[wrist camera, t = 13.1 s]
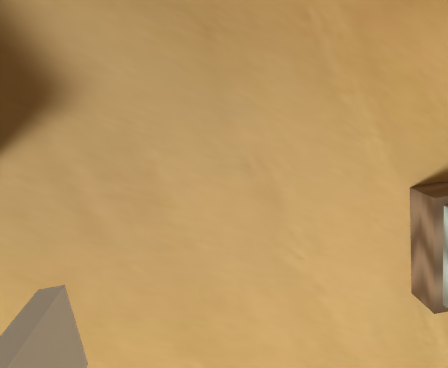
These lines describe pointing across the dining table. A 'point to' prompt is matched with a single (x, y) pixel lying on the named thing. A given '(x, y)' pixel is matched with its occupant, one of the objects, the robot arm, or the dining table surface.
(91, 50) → the dining table surface
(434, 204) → the tray
